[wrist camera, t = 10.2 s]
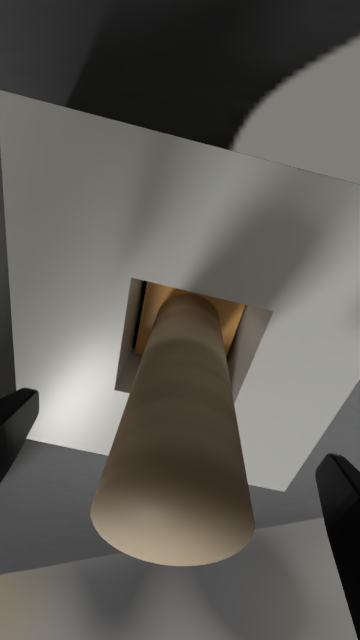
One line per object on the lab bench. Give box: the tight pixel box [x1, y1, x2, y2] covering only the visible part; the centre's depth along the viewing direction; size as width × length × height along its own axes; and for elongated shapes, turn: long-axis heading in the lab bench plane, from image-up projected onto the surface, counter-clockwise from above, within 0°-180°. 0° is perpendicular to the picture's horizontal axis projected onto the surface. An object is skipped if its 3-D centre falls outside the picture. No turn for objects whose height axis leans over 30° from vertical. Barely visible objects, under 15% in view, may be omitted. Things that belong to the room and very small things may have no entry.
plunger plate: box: [135, 281, 245, 356], centre depth 15 cm, size 5×5×1 cm
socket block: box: [0, 90, 360, 492], centre depth 14 cm, size 16×16×4 cm
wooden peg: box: [91, 294, 255, 566], centre depth 10 cm, size 4×4×10 cm
